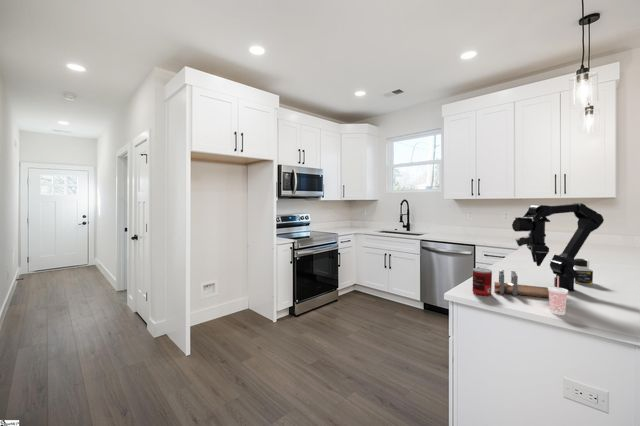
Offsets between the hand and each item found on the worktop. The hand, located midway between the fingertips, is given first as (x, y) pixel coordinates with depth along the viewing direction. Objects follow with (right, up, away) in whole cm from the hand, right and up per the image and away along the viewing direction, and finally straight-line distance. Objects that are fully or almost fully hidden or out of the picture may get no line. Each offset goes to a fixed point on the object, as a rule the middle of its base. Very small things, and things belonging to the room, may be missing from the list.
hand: (536, 264), depth 142 cm
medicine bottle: (+30, -11, +11) cm, 34 cm away
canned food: (-29, -13, -5) cm, 32 cm away
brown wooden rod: (-12, -12, -7) cm, 18 cm away
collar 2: (-14, -12, -5) cm, 20 cm away
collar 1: (-19, -12, -3) cm, 23 cm away
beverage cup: (-13, -14, -28) cm, 34 cm away
